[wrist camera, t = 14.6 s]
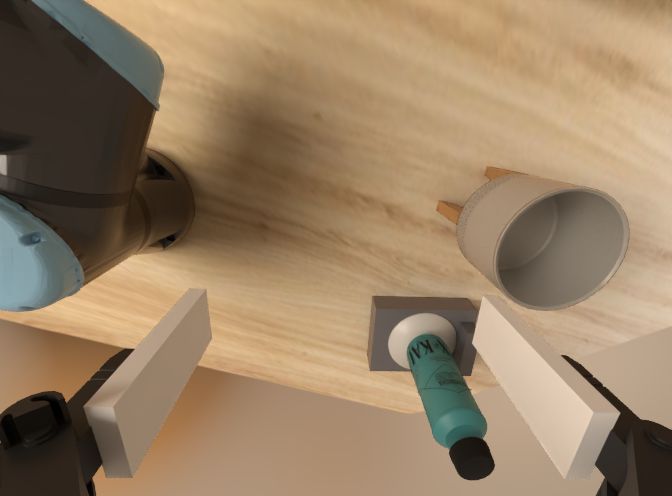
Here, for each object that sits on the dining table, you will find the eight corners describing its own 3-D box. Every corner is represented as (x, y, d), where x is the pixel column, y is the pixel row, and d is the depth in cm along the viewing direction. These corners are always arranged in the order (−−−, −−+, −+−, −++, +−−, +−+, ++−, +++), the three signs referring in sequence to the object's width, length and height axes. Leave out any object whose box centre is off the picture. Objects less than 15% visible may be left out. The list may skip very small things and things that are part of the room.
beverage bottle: (444, 355, 51) (512, 485, 32) (405, 362, 51) (448, 496, 33) (440, 322, 49) (510, 442, 30) (399, 330, 49) (442, 454, 30)
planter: (505, 255, 50) (595, 317, 33) (427, 245, 49) (478, 304, 32) (534, 173, 45) (654, 196, 28) (448, 161, 44) (520, 178, 28)
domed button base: (367, 354, 56) (372, 384, 49) (372, 296, 52) (378, 319, 45) (454, 356, 56) (471, 385, 50) (467, 298, 52) (486, 322, 46)
